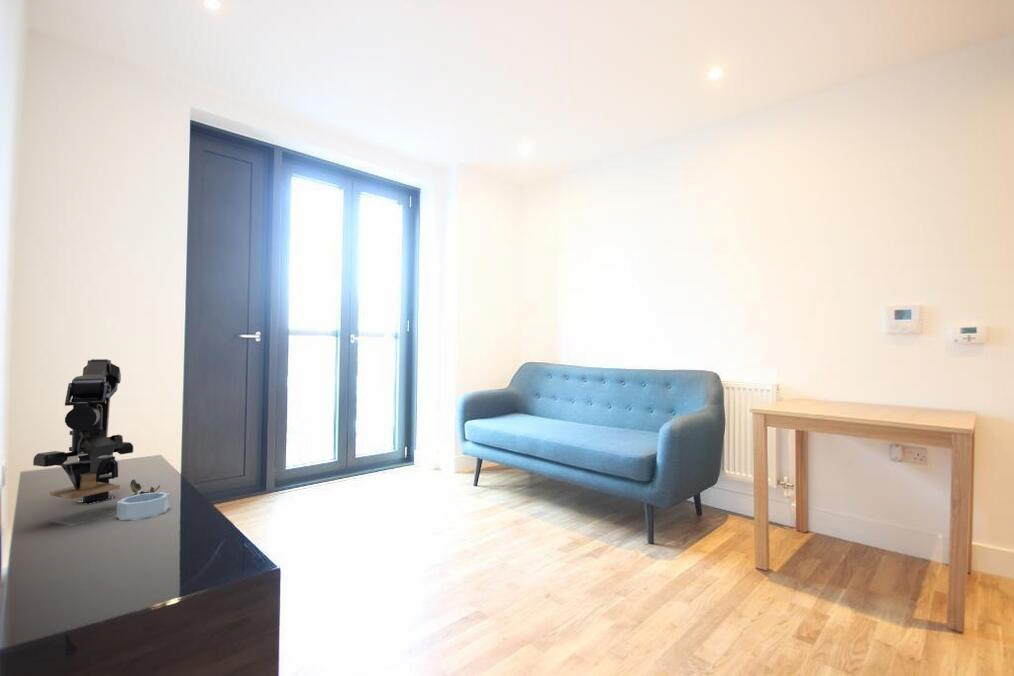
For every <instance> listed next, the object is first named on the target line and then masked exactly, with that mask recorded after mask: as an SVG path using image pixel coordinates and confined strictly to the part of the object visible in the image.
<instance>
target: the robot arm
mask: <svg viewBox="0 0 1014 676" xmlns="http://www.w3.org/2000/svg"><path fill="white" fill-rule="evenodd" d="M111 361H112V360H110V359H108V358H107V359H105V358H101V359H99V358H97V359H96V358H95V359H94V358H93V359H88V360H87V365H85V366H84V367H83V368H82V375H78V376H75V377H74V378H73V379H72V381H71V382H69V383H68V386H67V391H66V394H65V395H66V396H65V402H64V407H67V406H72V409H71V410H70V411H68V412H67V413H66V415H65V417H64V422H65V425H66V426H67V427H68V428H70V429H71V430H70V431H69V436H71V446H69V447H68V451H69V452H65V451H56V450H54V451H47V452H40V453H39V452H38V453H37V454H36V455H35V456H34V457H33V460H32V461H33V466H35V467H37V466H38V467H44V468H45V467H46V468H47V467H53V466H58V467H59V466H60V467H61V468H62V469H63V471H64V472H65V473H66V474H67V476H68V478H69V479H70V482H71V483H72V485H73V487H75V488H76V489H79V488H80V474H85V473H96V483H97V482H103V483H110V479H112V480H114V479H116V478H119V463H118V461H117V459H116V456H114V453H118V454H119V455H127V454H132V453H134V444H133V443H132V442H130V441H128V442H127V441H123V440H124V439H123V438H124V437H123V436H122V434H114V435H113V434H112V435H111V436H108V433H109V421H110V420H109V418H110V403H111V397H112V396H114V395H115V394H116V392H118V385H119V384H121V380H122V379H121V378H122V374H121V368H120V366H117V365H116V364H114V363H112V362H111ZM109 494H110V491H107V492H102V493H98V494H93V495H89V496H84V497H82V500H83V503H82V504H84V503H87V504H86V505H90V504H89V503H92V504H94V503H93V502H96V503H98V502H97V501H100V502H103V501H102V500H105V501H107V500H106V499H109V500H112V499H111V498H112V497H113V499H115V498H114V497H115V496H112V497H109V496H110V495H109Z"/></svg>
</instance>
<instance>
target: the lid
mask: <svg viewBox="0 0 1014 676" xmlns="http://www.w3.org/2000/svg"><path fill="white" fill-rule="evenodd" d="M119 489H120V484H117V483H110V482H109V483H103V482H97V483H96V473H85V474H80V488H79V489H76V488H75V487H74V486H71V487H70V486H69V487H66V488H60V489H56V490H50V491H49V496H50V497H51V496H52V497H55V498H63V499H69V500H75V499H80V498H83V497H84V496H89V495H93V494H98V493H102V492H107V491H109V492H111V491H115V490H119Z"/></svg>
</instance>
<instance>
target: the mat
mask: <svg viewBox="0 0 1014 676" xmlns="http://www.w3.org/2000/svg"><path fill="white" fill-rule="evenodd" d="M114 515H117V511H116V512H115V511H110V510H105V509H104V510H103V509H99V508H95V509H91V510H87V511H82V512H79V513H75V514H72V515H67V516H63V517H59V518H55V519H52V522H51V523H57V524H60V525H63V526H64V525H66V526H70V527H72V526H75V525H81V524H83V523H84V524H85V523H87V522H91V521H95V520H98V519H99V520H100V519H103V518H106V517H110V516H114Z"/></svg>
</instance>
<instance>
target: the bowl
mask: <svg viewBox="0 0 1014 676" xmlns="http://www.w3.org/2000/svg"><path fill="white" fill-rule="evenodd" d="M133 495H134V494H133ZM129 496H130V497H128V496H126V497H123V498H121V499H120V500H119V501H117V502H116V513H117V514H116V518H118V520H120V521H137V520H139V521H140V520H144V519H148V518H154V517H157V516H160V515H163V514H164V513H166V512H167V511H168V509H169V508H170V492H169V493H167V492H162V491H155V493H150V492H149V493H145V494H138V495H134V496H131V495H129Z"/></svg>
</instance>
